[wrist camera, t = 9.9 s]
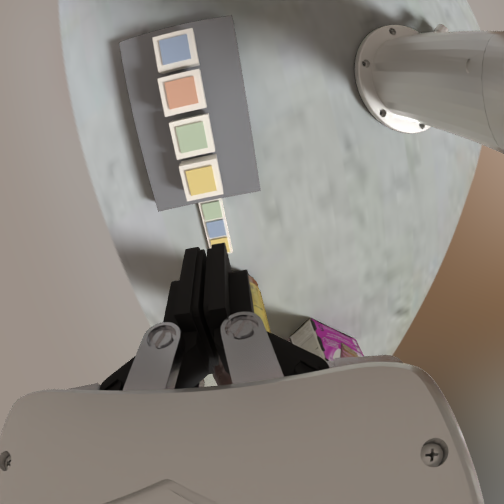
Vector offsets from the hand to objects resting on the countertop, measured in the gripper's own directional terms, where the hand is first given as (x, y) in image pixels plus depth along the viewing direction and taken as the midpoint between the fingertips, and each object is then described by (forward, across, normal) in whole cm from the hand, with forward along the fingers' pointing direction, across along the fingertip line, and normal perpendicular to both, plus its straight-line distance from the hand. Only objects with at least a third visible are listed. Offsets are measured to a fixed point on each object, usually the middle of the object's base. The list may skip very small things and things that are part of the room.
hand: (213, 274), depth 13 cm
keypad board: (+18, +2, -6) cm, 19 cm away
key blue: (+17, +2, -11) cm, 21 cm away
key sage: (+17, +2, -4) cm, 18 cm away
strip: (+18, +2, +7) cm, 19 cm away
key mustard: (+17, +2, 0) cm, 17 cm away
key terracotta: (+16, +2, -8) cm, 18 cm away
